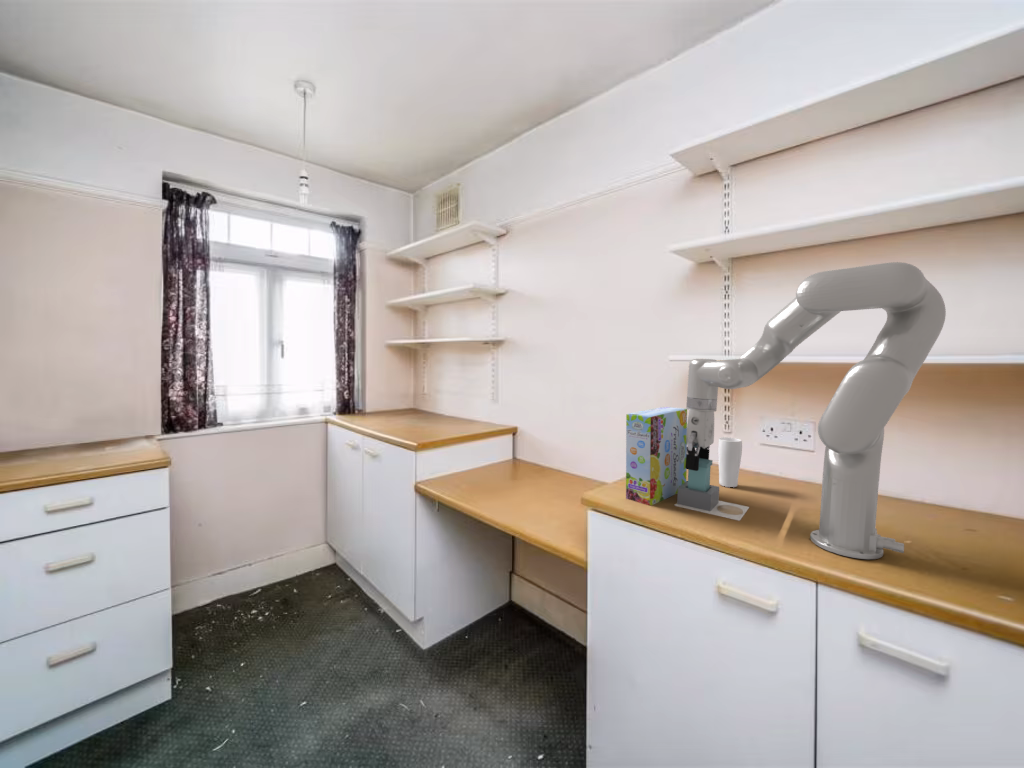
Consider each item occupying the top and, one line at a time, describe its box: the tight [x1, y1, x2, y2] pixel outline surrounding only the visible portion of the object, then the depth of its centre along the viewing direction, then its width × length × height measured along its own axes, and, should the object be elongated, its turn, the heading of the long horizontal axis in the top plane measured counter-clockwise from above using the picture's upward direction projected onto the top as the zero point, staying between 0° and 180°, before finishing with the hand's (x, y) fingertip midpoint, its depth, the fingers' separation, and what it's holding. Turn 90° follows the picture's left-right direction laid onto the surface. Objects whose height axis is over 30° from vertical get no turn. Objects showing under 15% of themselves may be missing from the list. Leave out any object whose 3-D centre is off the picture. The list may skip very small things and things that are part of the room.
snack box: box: [625, 406, 688, 506], centre depth 123 cm, size 22×9×26 cm, turn 132°
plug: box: [687, 458, 713, 492], centre depth 115 cm, size 5×5×12 cm
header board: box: [674, 480, 750, 522], centre depth 113 cm, size 16×12×6 cm
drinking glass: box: [717, 436, 743, 488], centre depth 134 cm, size 7×7×15 cm
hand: (697, 465), depth 116 cm, fingers open, 9 cm apart
